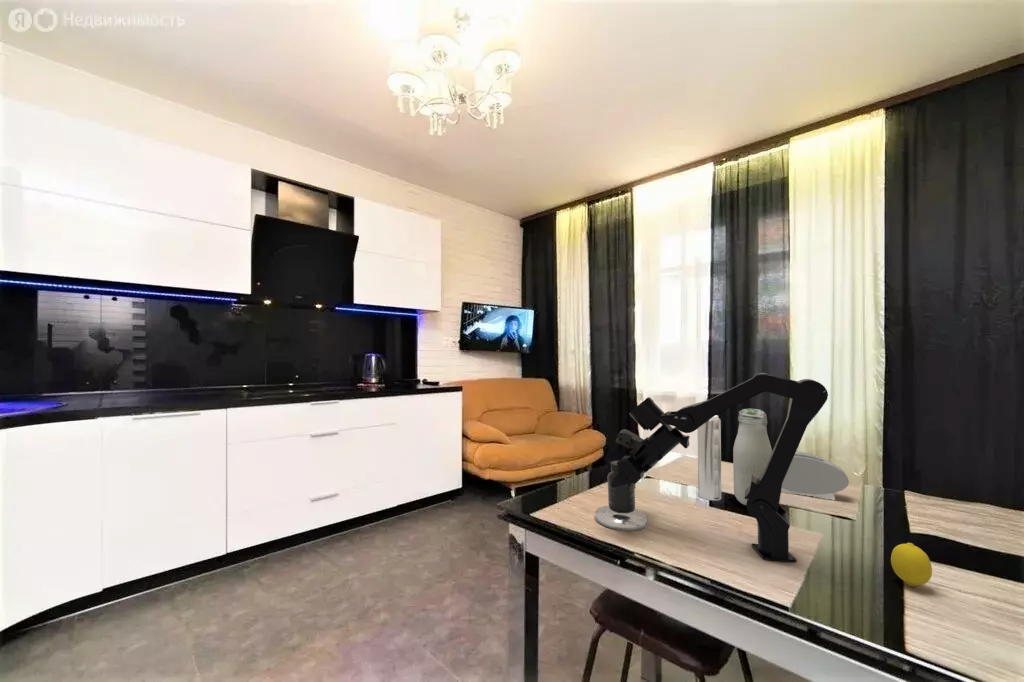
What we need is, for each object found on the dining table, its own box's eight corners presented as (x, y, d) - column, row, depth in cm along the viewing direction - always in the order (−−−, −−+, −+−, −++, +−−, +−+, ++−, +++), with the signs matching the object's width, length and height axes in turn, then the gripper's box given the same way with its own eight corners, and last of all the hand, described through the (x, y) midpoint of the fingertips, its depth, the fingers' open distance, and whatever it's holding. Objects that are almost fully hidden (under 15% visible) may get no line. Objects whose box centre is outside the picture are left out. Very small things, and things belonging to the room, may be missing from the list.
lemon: (910, 578, 79) (909, 536, 80) (941, 594, 74) (940, 549, 74) (883, 578, 79) (882, 536, 79) (912, 595, 74) (911, 550, 74)
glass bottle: (734, 508, 115) (732, 409, 116) (733, 497, 124) (732, 405, 125) (775, 515, 110) (773, 411, 111) (771, 503, 119) (770, 407, 120)
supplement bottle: (626, 502, 110) (625, 458, 111) (640, 512, 104) (639, 465, 104) (603, 505, 109) (602, 460, 109) (616, 515, 102) (615, 467, 102)
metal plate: (650, 532, 99) (650, 526, 99) (596, 528, 101) (596, 522, 101) (642, 512, 111) (642, 506, 111) (594, 509, 113) (594, 503, 114)
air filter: (699, 499, 122) (698, 415, 123) (696, 492, 128) (695, 413, 129) (723, 501, 120) (722, 417, 121) (719, 494, 126) (718, 414, 127)
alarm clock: (846, 497, 125) (845, 455, 125) (849, 503, 119) (848, 460, 120) (758, 484, 137) (758, 446, 138) (757, 489, 132) (757, 449, 133)
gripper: (644, 415, 113) (606, 451, 118) (624, 425, 97) (581, 465, 102) (674, 447, 108) (634, 482, 114) (659, 462, 92) (612, 503, 98)
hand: (615, 482), depth 107 cm, fingers closed on supplement bottle, 7 cm apart
